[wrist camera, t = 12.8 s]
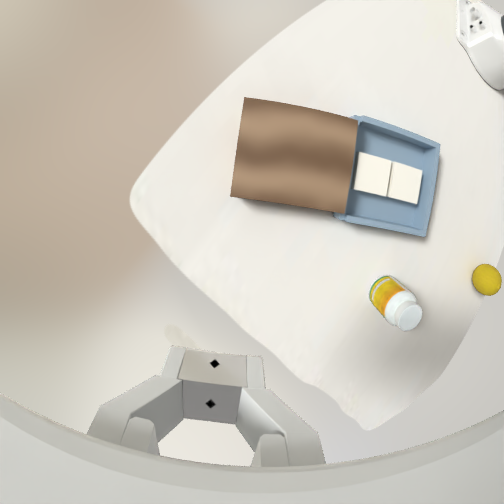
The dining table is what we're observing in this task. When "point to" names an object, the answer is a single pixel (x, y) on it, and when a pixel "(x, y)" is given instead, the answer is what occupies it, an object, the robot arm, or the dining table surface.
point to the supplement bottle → (395, 302)
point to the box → (402, 151)
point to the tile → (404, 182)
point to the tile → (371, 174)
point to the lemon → (486, 279)
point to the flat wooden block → (294, 155)
